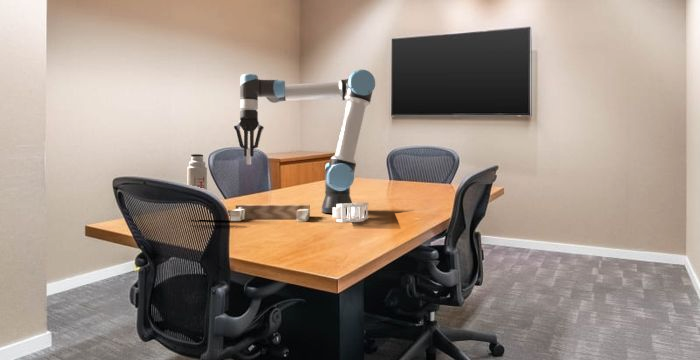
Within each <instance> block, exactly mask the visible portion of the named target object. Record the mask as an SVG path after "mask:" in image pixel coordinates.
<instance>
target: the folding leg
mask: <svg viewBox="0 0 700 360" xmlns="http://www.w3.org/2000/svg"><path fill="white" fill-rule="evenodd" d="M230 210H231V211H230V222H240V221H243V220H246V219H245V209H244V207H239V209H236V208H235V209H230Z"/></svg>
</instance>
